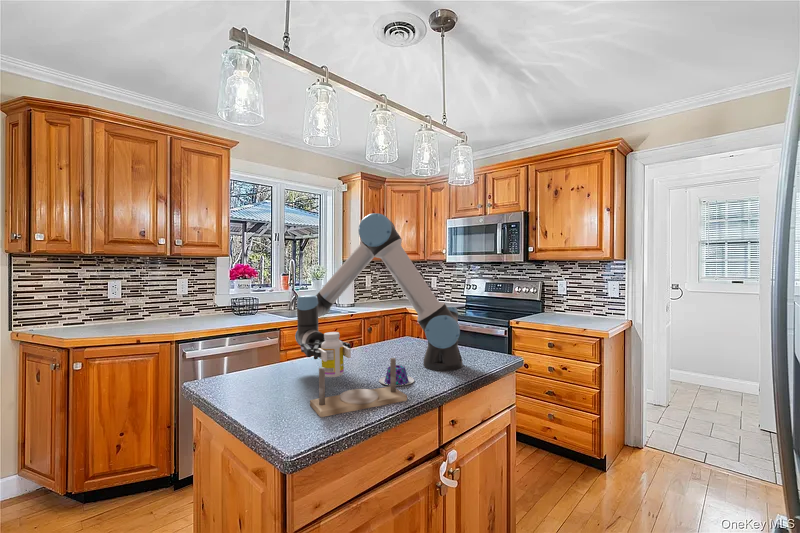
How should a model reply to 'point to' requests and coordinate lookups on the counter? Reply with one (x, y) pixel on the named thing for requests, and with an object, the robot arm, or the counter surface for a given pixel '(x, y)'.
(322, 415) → the board
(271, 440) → the counter surface
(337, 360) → the supplement bottle
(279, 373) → the counter surface
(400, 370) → the pudding
